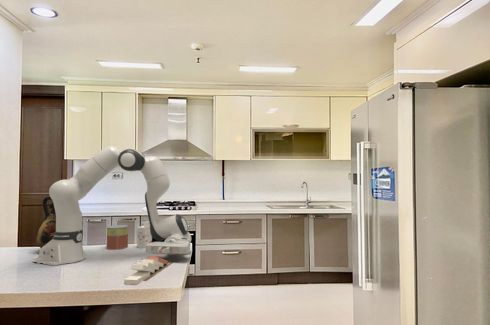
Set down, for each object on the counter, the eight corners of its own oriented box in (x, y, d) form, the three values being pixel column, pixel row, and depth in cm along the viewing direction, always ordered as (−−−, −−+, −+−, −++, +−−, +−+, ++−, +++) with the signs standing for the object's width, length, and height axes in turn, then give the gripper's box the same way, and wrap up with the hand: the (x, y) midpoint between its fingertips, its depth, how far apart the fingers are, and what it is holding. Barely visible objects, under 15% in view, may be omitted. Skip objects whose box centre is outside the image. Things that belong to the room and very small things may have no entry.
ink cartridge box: (144, 244, 183) (144, 219, 183) (152, 245, 182) (152, 219, 182) (136, 248, 174) (136, 221, 175) (144, 248, 173) (144, 222, 174)
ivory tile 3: (158, 270, 129) (147, 266, 120) (147, 269, 130) (136, 265, 121) (159, 266, 129) (148, 262, 121) (148, 265, 130) (137, 261, 121)
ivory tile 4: (154, 273, 125) (142, 269, 116) (142, 272, 126) (130, 268, 117) (155, 268, 126) (143, 265, 117) (143, 268, 126) (131, 264, 118)
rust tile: (167, 264, 137) (157, 261, 128) (156, 263, 138) (146, 260, 129) (167, 260, 138) (158, 257, 129) (157, 260, 138) (147, 256, 130)
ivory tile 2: (163, 267, 133) (153, 263, 124) (152, 266, 134) (141, 263, 125) (163, 263, 133) (153, 259, 125) (153, 262, 134) (142, 259, 126)
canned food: (120, 244, 184) (120, 224, 184) (132, 247, 177) (132, 226, 178) (102, 248, 174) (102, 226, 175) (113, 251, 168) (114, 228, 168)
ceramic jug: (75, 248, 175) (76, 195, 177) (60, 254, 160) (61, 196, 161) (44, 248, 175) (45, 195, 176) (26, 255, 159) (27, 197, 160)
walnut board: (126, 282, 117) (126, 279, 117) (158, 263, 142) (158, 261, 142) (146, 284, 115) (146, 280, 115) (174, 264, 141) (174, 261, 141)
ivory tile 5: (150, 275, 121) (136, 284, 112) (138, 275, 122) (124, 283, 112) (150, 271, 121) (136, 280, 112) (138, 271, 122) (124, 279, 112)
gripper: (153, 237, 152) (138, 243, 138) (193, 239, 148) (182, 245, 135) (153, 250, 152) (138, 258, 138) (193, 252, 148) (182, 260, 134)
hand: (160, 251), depth 136 cm, fingers closed
